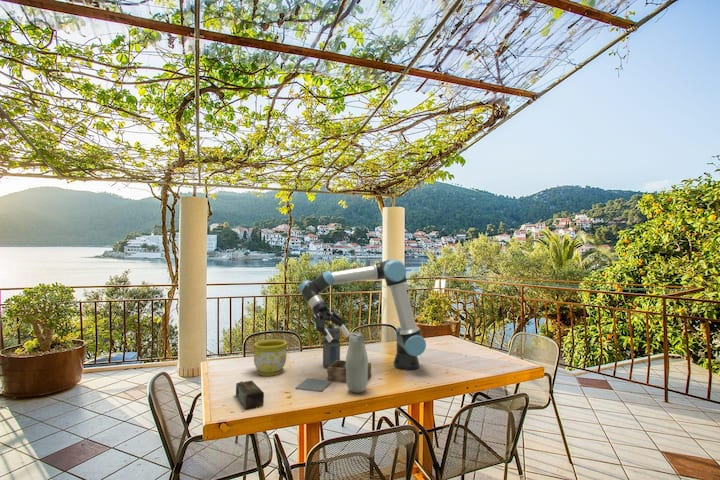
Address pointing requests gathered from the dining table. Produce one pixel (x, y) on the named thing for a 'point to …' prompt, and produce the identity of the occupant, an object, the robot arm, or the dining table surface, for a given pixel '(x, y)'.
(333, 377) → the walnut crate
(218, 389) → the dining table surface
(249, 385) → the beverage carton
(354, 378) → the grey vase
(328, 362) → the beverage bottle
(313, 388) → the grey mat
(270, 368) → the flowerpot
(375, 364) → the dining table surface
